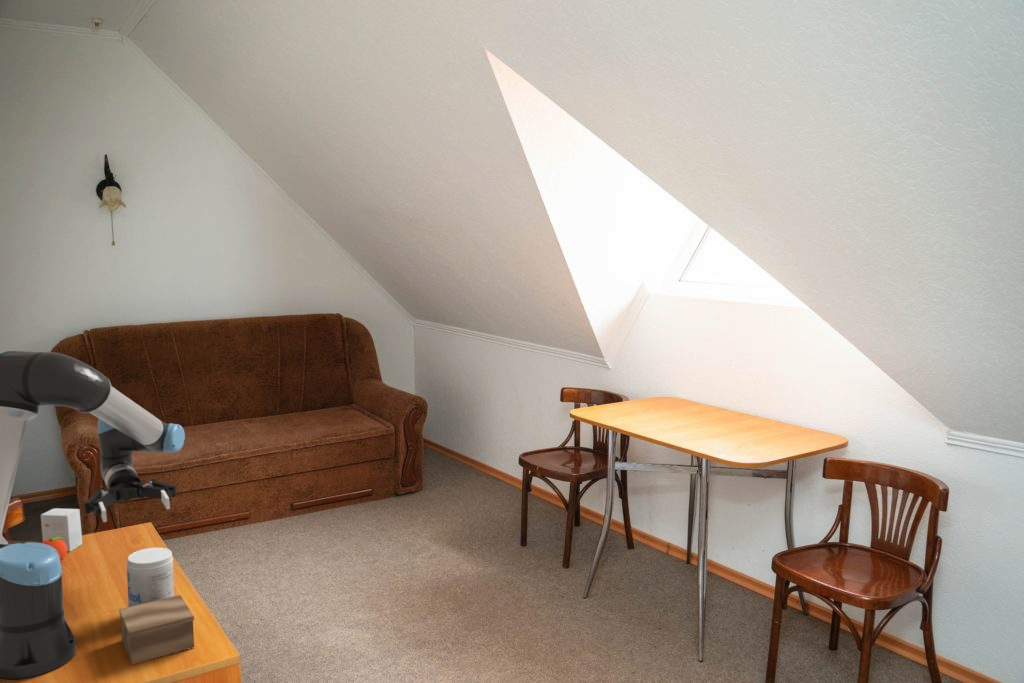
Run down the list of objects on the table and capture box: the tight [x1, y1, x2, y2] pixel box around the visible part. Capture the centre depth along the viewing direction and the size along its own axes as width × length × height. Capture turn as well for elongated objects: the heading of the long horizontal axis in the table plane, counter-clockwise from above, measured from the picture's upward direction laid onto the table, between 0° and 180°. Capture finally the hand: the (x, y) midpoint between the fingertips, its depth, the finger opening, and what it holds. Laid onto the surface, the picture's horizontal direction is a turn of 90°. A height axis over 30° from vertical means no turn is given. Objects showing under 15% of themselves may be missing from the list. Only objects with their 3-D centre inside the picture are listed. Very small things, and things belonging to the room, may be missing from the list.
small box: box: [40, 507, 83, 553], centre depth 221 cm, size 8×6×10 cm
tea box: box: [118, 594, 195, 665], centre depth 169 cm, size 12×12×7 cm
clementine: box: [41, 537, 68, 563], centre depth 210 cm, size 8×7×7 cm
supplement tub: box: [126, 547, 175, 607], centre depth 181 cm, size 10×10×15 cm
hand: (137, 510), depth 186 cm, fingers open, 13 cm apart
